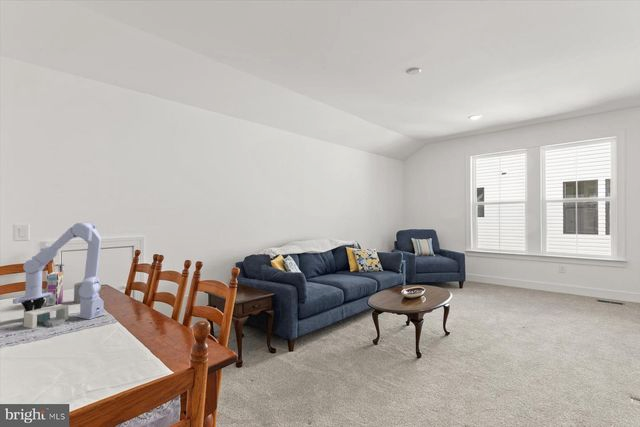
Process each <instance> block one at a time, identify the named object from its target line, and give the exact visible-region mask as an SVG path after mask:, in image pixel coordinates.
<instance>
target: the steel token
mask: <svg viewBox="0 0 640 427" xmlns="http://www.w3.org/2000/svg"><path fill="white" fill-rule="evenodd" d="M65 323H66V320H65V318H59V317H56V316H55V317H53V318H50V319H48V320H45V323H44V326H46V327H51V328H53V327H57V326H60V325H64V324H65Z"/></svg>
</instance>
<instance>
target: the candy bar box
mask: <svg viewBox="0 0 640 427" xmlns="http://www.w3.org/2000/svg"><path fill="white" fill-rule="evenodd" d="M64 272H65V271H52V272H50V273H48V274H46V292H45V293H49V292H52V293H53V297H47V298H45V307H50V306H54V305H59V304H60V303H62V302H63V299H64V298H63V297H64V295H63V293H64V277H65V276H64Z"/></svg>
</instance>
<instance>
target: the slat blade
mask: <svg viewBox="0 0 640 427" xmlns="http://www.w3.org/2000/svg"><path fill="white" fill-rule="evenodd" d="M33 310H34V308H33ZM24 312H26V310H25V309H23V313H24ZM48 319H51V312H47V313H43V314H39V315H37V323H38V322H40V323H44V324H45V320H48Z"/></svg>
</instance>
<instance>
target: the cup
mask: <svg viewBox="0 0 640 427" xmlns="http://www.w3.org/2000/svg"><path fill="white" fill-rule="evenodd" d="M81 286H82V281H81V282H76V283H74V285H73V288H74V289H73V291H74V292H73V303H74V304H76V305H79V304H80V300H81V296H80V295H79V289H80V287H81Z"/></svg>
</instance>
